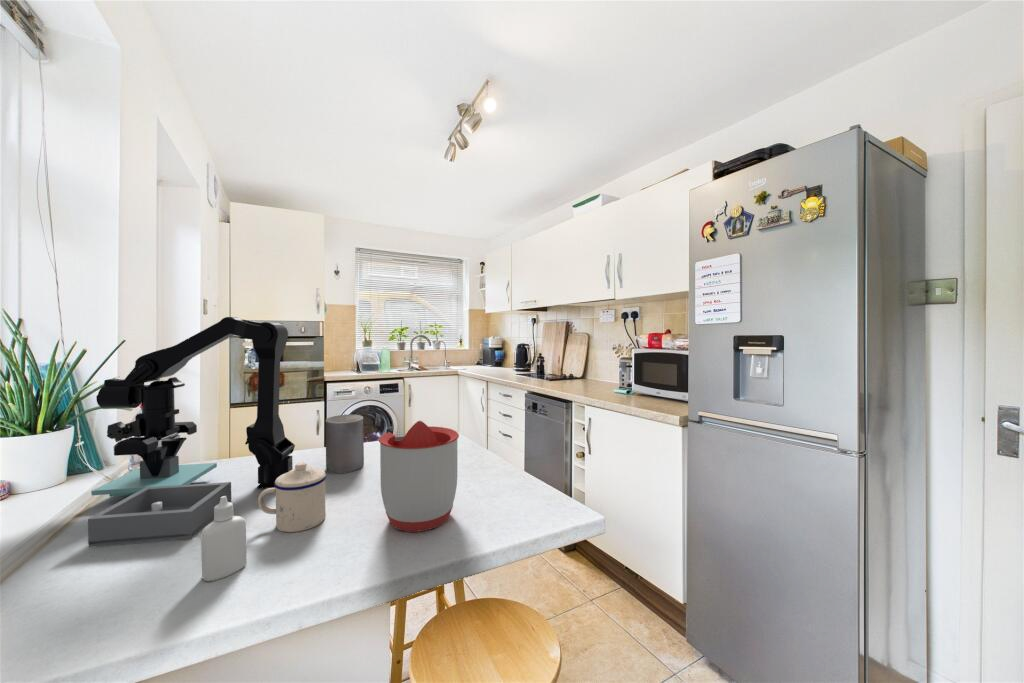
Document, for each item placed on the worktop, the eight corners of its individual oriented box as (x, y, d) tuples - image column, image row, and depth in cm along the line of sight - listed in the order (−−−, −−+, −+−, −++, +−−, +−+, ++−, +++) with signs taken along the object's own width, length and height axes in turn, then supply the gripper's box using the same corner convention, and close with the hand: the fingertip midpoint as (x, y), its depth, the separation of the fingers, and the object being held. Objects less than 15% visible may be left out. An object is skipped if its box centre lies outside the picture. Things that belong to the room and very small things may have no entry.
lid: (216, 471, 101) (216, 447, 101) (180, 494, 87) (179, 467, 87) (142, 475, 98) (141, 451, 98) (91, 500, 84) (90, 472, 84)
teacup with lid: (330, 508, 84) (329, 454, 83) (322, 529, 75) (321, 469, 75) (266, 516, 80) (265, 459, 80) (250, 539, 72) (249, 476, 71)
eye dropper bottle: (207, 568, 63) (205, 494, 62) (248, 560, 65) (247, 488, 65) (198, 584, 59) (196, 505, 59) (243, 575, 61) (241, 499, 61)
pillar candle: (330, 462, 112) (329, 410, 112) (366, 460, 115) (365, 409, 114) (322, 475, 103) (321, 418, 102) (361, 472, 105) (361, 416, 105)
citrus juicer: (427, 493, 92) (427, 408, 91) (474, 519, 80) (474, 420, 79) (361, 515, 81) (361, 418, 80) (404, 549, 69) (404, 435, 68)
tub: (231, 504, 86) (231, 482, 85) (192, 538, 72) (191, 511, 72) (146, 510, 83) (145, 487, 82) (88, 547, 69) (87, 519, 69)
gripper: (147, 401, 100) (149, 462, 100) (82, 417, 81) (84, 492, 82) (197, 399, 102) (198, 459, 102) (144, 415, 83) (146, 488, 84)
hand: (160, 473), depth 92 cm, fingers closed on lid, 3 cm apart
